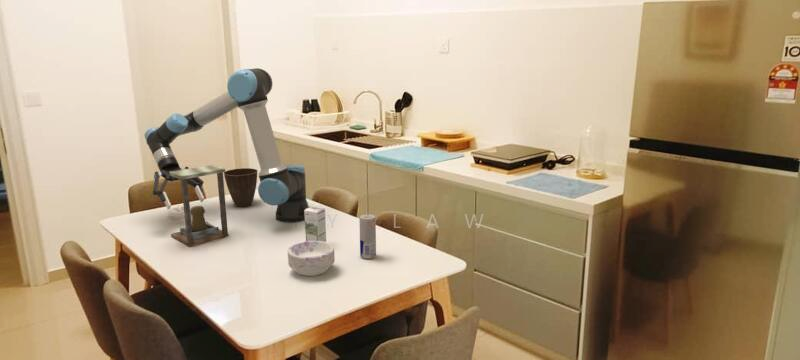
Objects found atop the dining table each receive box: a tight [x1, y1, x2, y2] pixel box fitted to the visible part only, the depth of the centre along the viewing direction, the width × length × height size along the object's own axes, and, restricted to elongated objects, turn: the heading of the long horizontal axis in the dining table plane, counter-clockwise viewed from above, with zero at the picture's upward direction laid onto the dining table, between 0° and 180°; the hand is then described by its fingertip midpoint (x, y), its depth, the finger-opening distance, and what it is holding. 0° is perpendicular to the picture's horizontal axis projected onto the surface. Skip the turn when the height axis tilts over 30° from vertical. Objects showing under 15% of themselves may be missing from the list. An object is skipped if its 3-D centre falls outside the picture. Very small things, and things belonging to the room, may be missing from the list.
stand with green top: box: [170, 164, 230, 248], centre depth 212 cm, size 17×16×27 cm
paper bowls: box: [287, 240, 336, 277], centre depth 183 cm, size 15×15×8 cm
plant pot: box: [223, 167, 258, 208], centre depth 255 cm, size 15×15×16 cm
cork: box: [190, 205, 207, 232], centre depth 214 cm, size 6×6×11 cm
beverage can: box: [359, 213, 377, 260], centre depth 193 cm, size 6×6×15 cm
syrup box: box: [304, 205, 327, 242], centre depth 204 cm, size 6×6×14 cm
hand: (186, 203), depth 219 cm, fingers open, 13 cm apart
